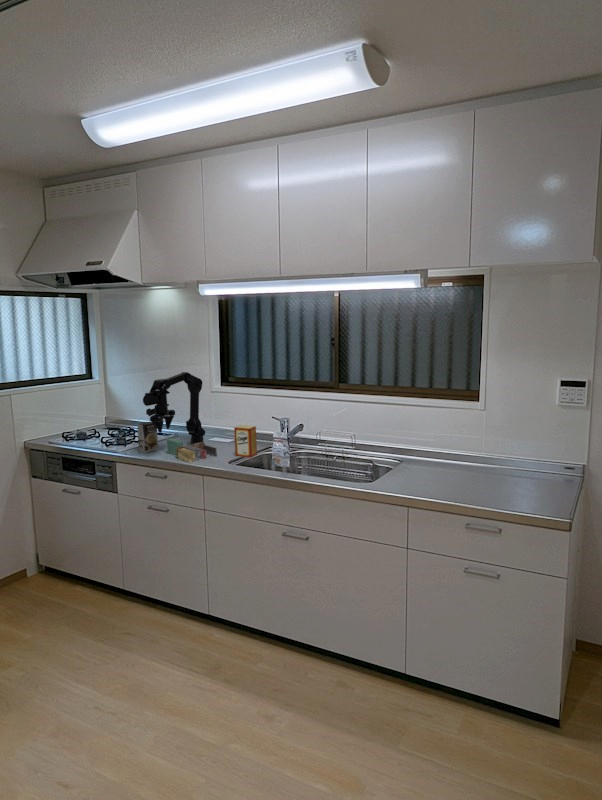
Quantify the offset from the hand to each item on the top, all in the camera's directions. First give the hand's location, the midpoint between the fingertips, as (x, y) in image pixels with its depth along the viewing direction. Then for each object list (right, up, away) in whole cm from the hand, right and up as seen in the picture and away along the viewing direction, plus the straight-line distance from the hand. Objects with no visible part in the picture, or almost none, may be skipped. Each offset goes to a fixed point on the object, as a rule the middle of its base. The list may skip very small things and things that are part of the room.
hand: (164, 430), depth 306 cm
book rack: (+19, -14, -7) cm, 25 cm away
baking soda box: (+46, -13, -4) cm, 48 cm away
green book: (+6, -13, +1) cm, 15 cm away
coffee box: (-11, -12, +11) cm, 20 cm away
